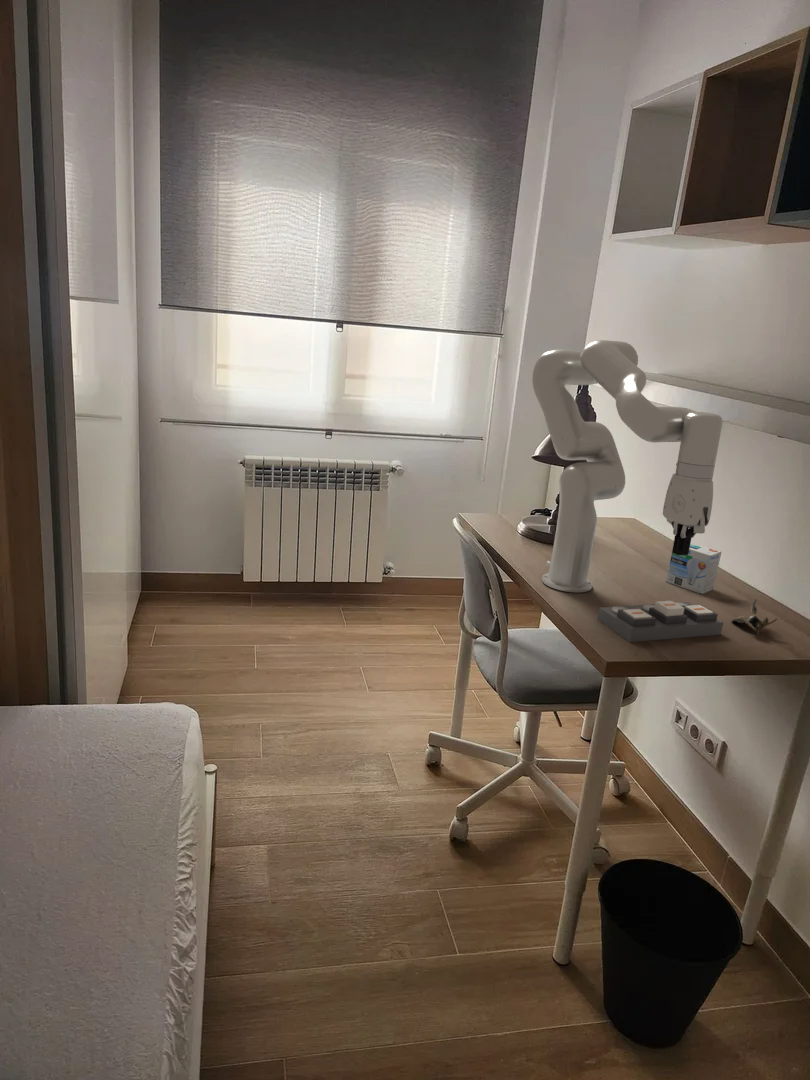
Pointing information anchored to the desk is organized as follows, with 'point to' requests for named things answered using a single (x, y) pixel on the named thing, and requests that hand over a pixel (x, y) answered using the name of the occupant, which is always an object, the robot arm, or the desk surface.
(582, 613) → the desk surface
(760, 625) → the eagle figurine
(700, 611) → the right button
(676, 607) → the middle button
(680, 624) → the button panel
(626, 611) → the left button
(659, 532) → the desk surface
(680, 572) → the light bulb box
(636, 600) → the desk surface
